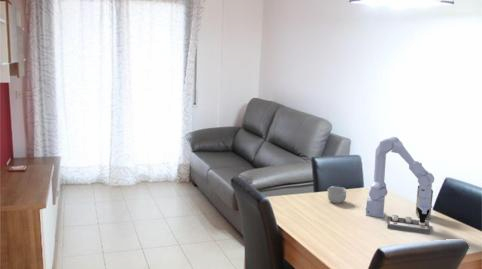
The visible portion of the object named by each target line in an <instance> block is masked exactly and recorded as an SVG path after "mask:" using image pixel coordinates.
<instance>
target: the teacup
mask: <svg viewBox="0 0 482 269" xmlns="http://www.w3.org/2000/svg"><path fill="white" fill-rule="evenodd" d="M346 197H347V189H346V188H345V187H341V186H334V185H332V186H330V187H328V188H327V198H328V199H327V200H329V201H330V202H331V203H332V204H335V203H336V204H337V205H338V204H343V203H344V202H345V201H346Z"/></svg>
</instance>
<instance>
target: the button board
mask: <svg viewBox="0 0 482 269" xmlns="http://www.w3.org/2000/svg"><path fill="white" fill-rule="evenodd" d="M405 219H406V217H405V218H404V217H398V221H397V222H395V221H392V216H387V229H390V230H399V231H404V232H405V231H406V232H412V233H421V234H426V235H427V234H428V235H430V234H431V225H430V222H429V220H428V221H427V220H425V226H422V225H419V221H420V219H419V220H418V219H413V218H412V222H411V223H406V222H405Z"/></svg>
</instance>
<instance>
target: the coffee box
mask: <svg viewBox="0 0 482 269" xmlns="http://www.w3.org/2000/svg"><path fill="white" fill-rule="evenodd" d="M419 186H420V185H419V184H418V185H417V191H416V192H417V193H416V203H415V214H416V216H417V218H418V219H419V213H418V210H417V208H419V207H417V204H418V196H419ZM433 196H434V190H433V189H432V190H431V200H430V206H432V207H433V205H432V204H433V198H434V197H433ZM429 211H430V212H429V214H428V215H427V217H426V220H431V213H432V208H429Z"/></svg>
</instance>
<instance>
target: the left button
mask: <svg viewBox="0 0 482 269" xmlns="http://www.w3.org/2000/svg"><path fill="white" fill-rule="evenodd" d="M391 217H392V221H395V222H397V221H398V218H399V215H397V214H392V216H391Z"/></svg>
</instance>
